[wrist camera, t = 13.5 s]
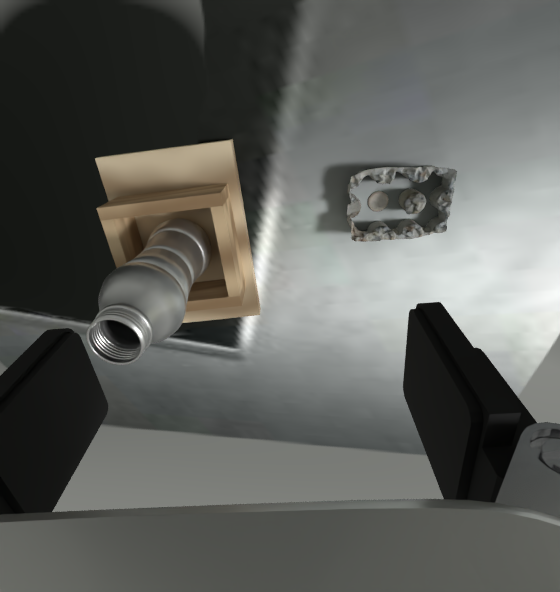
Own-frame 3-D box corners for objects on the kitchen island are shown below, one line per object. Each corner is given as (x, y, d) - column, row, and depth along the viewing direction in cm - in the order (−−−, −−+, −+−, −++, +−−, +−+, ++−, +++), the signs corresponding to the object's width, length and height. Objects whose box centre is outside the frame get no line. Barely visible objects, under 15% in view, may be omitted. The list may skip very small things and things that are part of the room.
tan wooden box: (101, 156, 40) (69, 164, 34) (232, 139, 39) (223, 144, 33) (152, 320, 48) (134, 349, 43) (260, 309, 48) (257, 337, 42)
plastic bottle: (187, 201, 40) (111, 276, 22) (227, 250, 42) (187, 354, 25) (143, 234, 42) (39, 329, 24) (184, 280, 44) (117, 397, 26)
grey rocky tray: (342, 232, 43) (347, 243, 40) (347, 163, 40) (353, 169, 36) (435, 231, 43) (449, 243, 40) (448, 162, 40) (464, 168, 36)
